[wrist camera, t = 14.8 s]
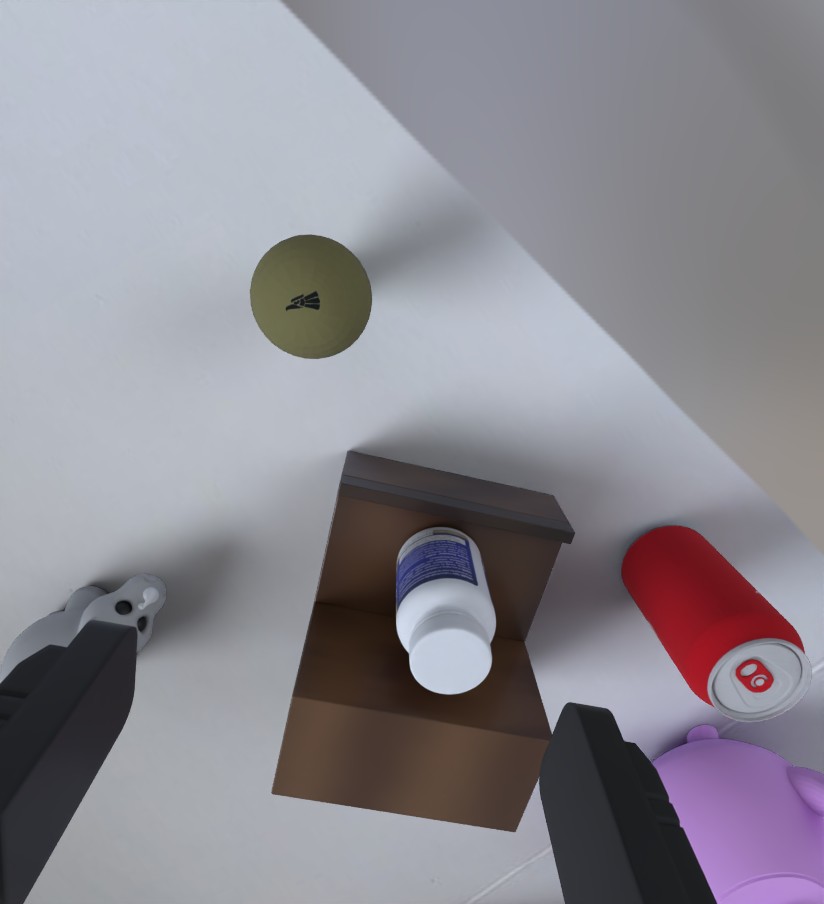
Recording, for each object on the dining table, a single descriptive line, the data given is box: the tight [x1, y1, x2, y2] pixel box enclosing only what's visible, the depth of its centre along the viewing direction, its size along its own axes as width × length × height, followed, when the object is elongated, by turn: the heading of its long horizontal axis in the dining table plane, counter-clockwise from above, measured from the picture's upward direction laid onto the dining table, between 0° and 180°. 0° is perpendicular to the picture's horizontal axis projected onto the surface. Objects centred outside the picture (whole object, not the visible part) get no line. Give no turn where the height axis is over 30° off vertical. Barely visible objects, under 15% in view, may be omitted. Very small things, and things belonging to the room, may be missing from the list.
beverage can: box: [621, 526, 812, 722], centre depth 35 cm, size 6×6×12 cm
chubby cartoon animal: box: [0, 574, 167, 683], centre depth 38 cm, size 7×12×8 cm, turn 129°
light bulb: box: [250, 235, 372, 359], centre depth 29 cm, size 6×6×10 cm
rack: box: [271, 451, 575, 832], centre depth 35 cm, size 14×16×12 cm
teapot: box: [652, 725, 824, 904], centre depth 42 cm, size 20×14×12 cm
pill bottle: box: [396, 527, 496, 694], centre depth 32 cm, size 5×5×9 cm
